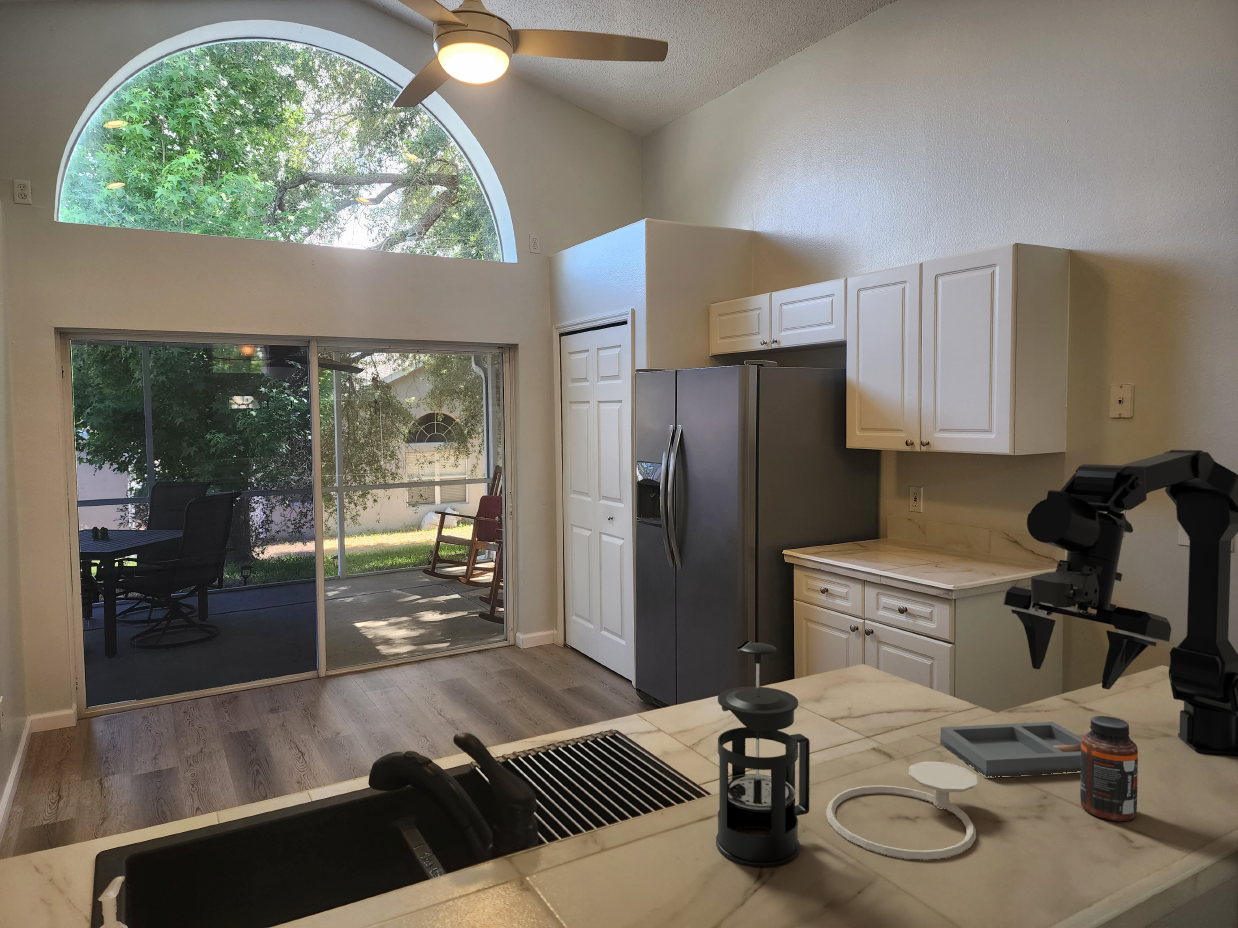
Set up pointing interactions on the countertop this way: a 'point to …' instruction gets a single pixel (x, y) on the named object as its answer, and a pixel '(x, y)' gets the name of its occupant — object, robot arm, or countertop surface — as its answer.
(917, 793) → the hand towel holder
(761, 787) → the french press
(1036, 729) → the divided tray
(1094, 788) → the supplement bottle
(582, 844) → the countertop surface
